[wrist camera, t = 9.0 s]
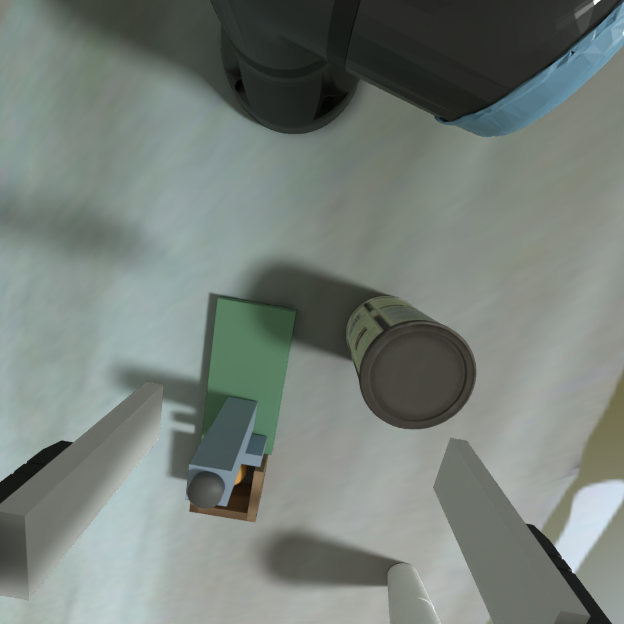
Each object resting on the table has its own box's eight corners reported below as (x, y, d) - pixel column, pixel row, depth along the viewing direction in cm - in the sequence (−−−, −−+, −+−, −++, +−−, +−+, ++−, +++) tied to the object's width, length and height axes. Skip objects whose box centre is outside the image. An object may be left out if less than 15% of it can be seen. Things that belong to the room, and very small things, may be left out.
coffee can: (421, 368, 42) (472, 429, 28) (345, 369, 42) (359, 430, 28) (425, 293, 40) (482, 320, 26) (345, 295, 40) (359, 322, 26)
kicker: (213, 394, 42) (162, 468, 28) (272, 404, 42) (250, 482, 28) (208, 437, 43) (157, 527, 29) (265, 446, 43) (241, 541, 29)
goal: (208, 437, 45) (194, 460, 40) (269, 447, 45) (263, 472, 40) (202, 483, 47) (189, 511, 42) (261, 493, 47) (255, 522, 42)
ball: (216, 484, 44) (224, 454, 46) (244, 488, 44) (250, 458, 46) (212, 481, 41) (221, 448, 43) (242, 486, 41) (249, 453, 43)
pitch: (221, 296, 40) (217, 298, 39) (296, 309, 40) (295, 312, 39) (204, 436, 45) (201, 443, 43) (272, 448, 45) (271, 454, 44)
